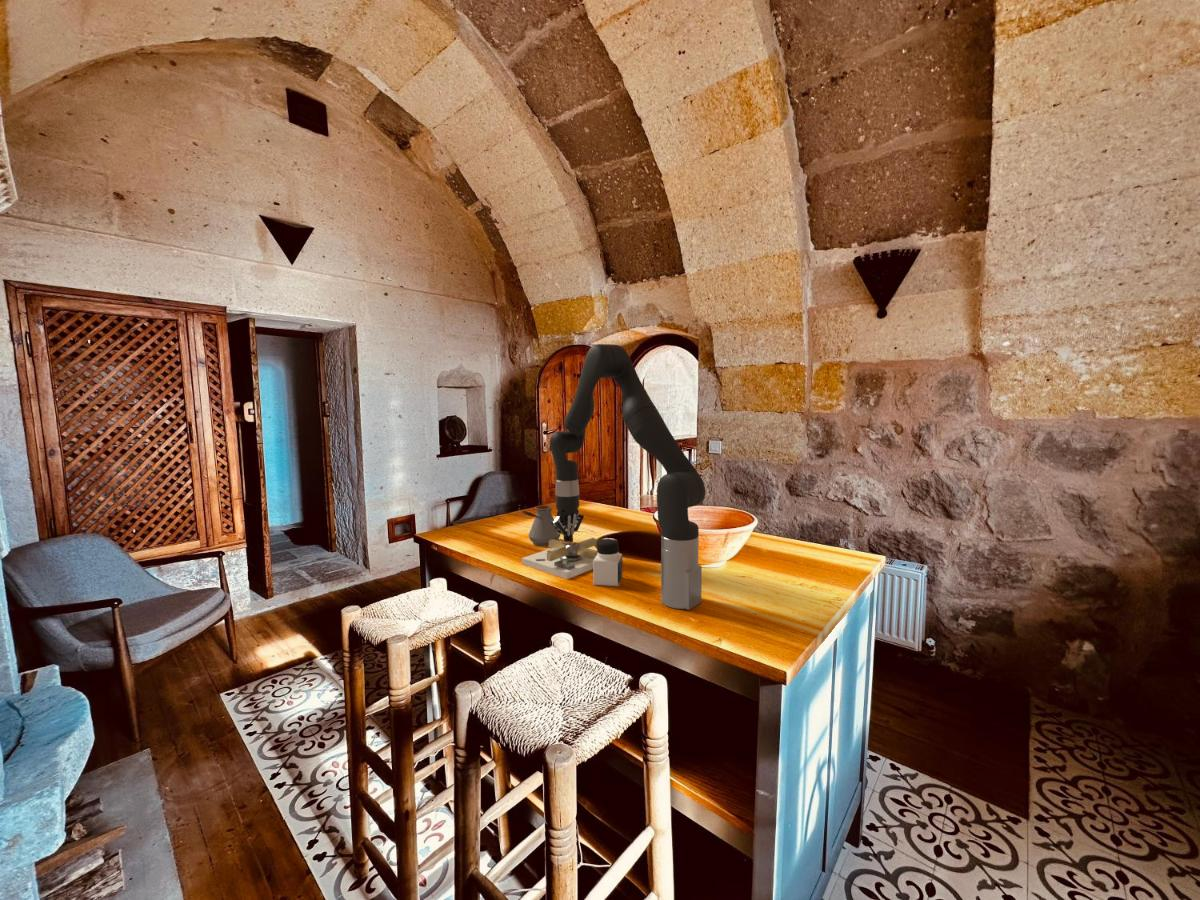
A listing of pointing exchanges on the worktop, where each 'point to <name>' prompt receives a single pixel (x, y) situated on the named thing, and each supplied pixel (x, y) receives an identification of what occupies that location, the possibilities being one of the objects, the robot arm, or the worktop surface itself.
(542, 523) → the coffee pot
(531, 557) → the board
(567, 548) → the cam capstan
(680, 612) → the worktop surface
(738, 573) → the worktop surface
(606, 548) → the medicine bottle
